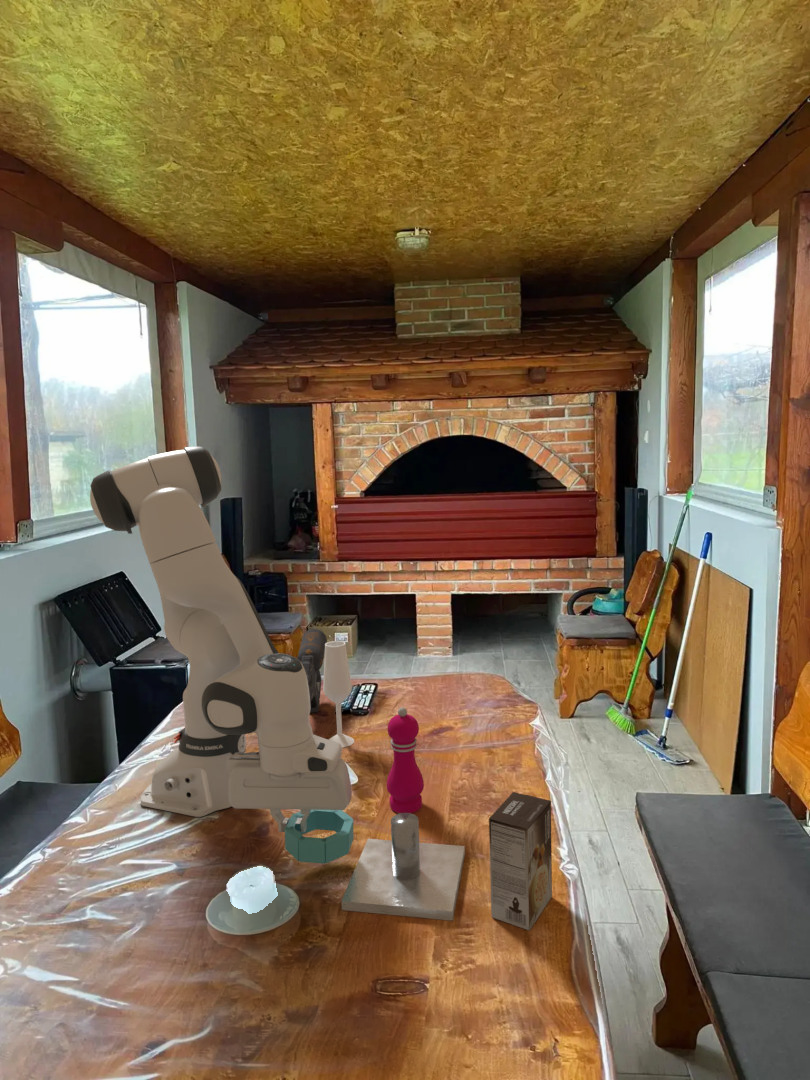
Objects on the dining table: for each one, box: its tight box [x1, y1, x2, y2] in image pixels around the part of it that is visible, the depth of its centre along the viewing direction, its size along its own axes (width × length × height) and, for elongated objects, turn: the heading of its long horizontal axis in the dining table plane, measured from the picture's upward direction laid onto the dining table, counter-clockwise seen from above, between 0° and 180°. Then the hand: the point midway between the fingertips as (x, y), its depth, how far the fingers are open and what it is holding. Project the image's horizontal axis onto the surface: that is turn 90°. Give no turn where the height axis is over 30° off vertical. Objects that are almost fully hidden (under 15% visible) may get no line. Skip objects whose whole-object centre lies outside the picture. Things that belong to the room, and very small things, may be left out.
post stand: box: [340, 813, 466, 921], centre depth 114 cm, size 17×17×10 cm
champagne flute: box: [322, 640, 355, 749], centre depth 166 cm, size 7×7×24 cm
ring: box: [284, 810, 354, 865], centre depth 118 cm, size 11×11×4 cm
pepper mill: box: [386, 707, 425, 814], centre depth 136 cm, size 7×7×20 cm
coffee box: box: [488, 791, 553, 931], centre depth 106 cm, size 9×6×16 cm
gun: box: [296, 628, 328, 714], centre depth 184 cm, size 7×28×20 cm, turn 179°
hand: (293, 830), depth 118 cm, fingers closed on ring
